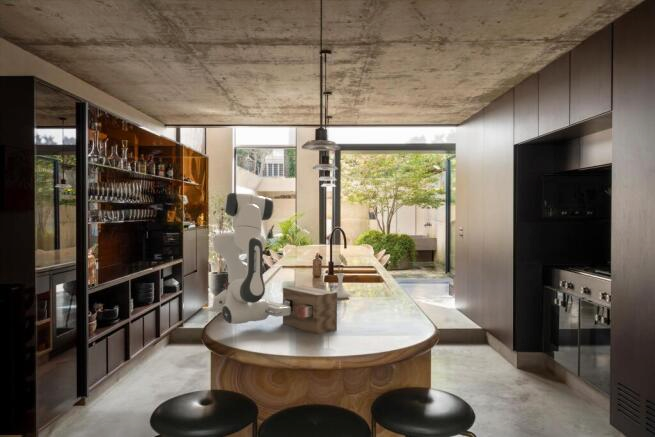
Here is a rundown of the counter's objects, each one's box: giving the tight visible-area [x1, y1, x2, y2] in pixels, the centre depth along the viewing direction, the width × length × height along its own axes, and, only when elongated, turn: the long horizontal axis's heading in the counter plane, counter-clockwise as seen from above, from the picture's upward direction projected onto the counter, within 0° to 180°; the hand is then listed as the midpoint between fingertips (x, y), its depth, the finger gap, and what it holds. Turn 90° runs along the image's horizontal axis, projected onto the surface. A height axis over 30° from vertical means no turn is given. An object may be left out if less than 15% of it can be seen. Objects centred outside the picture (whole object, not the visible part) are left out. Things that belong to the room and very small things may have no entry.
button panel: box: [282, 285, 338, 335], centre depth 219 cm, size 11×24×16 cm, turn 40°
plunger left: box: [284, 300, 293, 311], centre depth 223 cm, size 8×4×4 cm, turn 130°
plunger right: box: [298, 305, 313, 318], centre depth 210 cm, size 8×4×4 cm, turn 130°
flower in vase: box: [332, 253, 351, 300], centre depth 289 cm, size 13×11×25 cm
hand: (286, 305), depth 220 cm, fingers closed, pressing on plunger left
